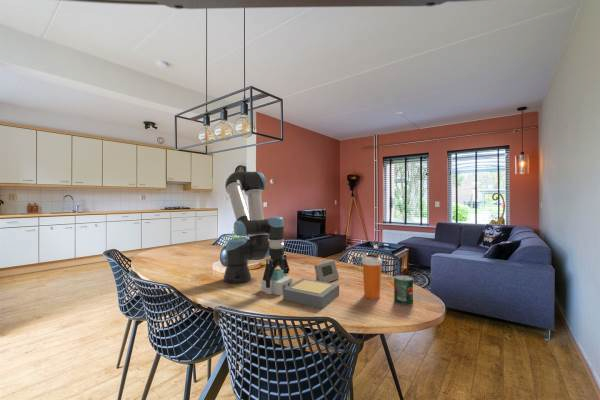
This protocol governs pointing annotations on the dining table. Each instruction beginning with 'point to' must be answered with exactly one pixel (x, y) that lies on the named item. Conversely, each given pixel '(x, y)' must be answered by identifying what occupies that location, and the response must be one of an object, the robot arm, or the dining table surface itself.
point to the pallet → (277, 285)
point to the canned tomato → (403, 290)
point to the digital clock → (326, 271)
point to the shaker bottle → (372, 275)
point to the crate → (278, 274)
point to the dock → (311, 293)
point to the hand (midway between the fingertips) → (277, 289)
